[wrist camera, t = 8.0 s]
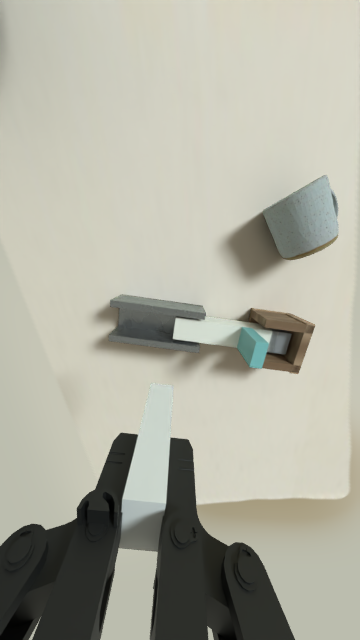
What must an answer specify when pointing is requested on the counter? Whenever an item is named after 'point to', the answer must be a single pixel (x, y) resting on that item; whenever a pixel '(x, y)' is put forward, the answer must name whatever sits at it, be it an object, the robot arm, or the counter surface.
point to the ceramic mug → (304, 220)
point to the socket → (297, 342)
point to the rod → (234, 336)
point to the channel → (152, 322)
